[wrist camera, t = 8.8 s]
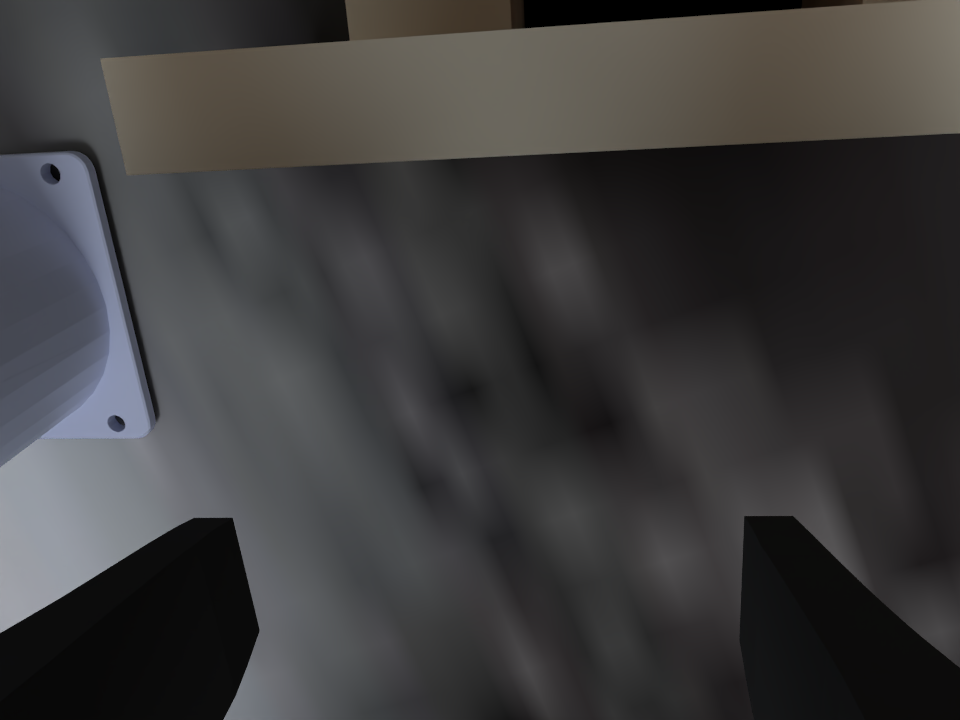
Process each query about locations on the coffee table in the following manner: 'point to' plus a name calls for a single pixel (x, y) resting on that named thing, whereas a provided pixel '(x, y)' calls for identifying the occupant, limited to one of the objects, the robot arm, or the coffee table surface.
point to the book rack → (541, 85)
